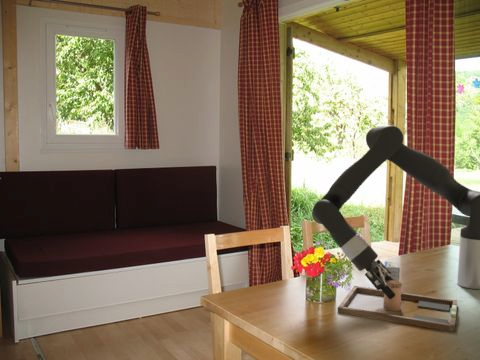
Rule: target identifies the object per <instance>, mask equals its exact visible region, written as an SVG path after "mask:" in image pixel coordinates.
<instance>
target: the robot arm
mask: <svg viewBox="0 0 480 360" xmlns="http://www.w3.org/2000/svg"><path fill="white" fill-rule="evenodd" d="M365 141H366V145H367V147H368V150H367V152H366V153H365V154H363V156H361V158H359V159H358V160H356V162H354V163H353V164H352V165H350V166H349V167H347V168H346V169H345V170H344V171H343V172H342V173H341V174H340V176H338V177H337V179H336V180H335V181H334V183H332V184H331V186H330V188H329V190H328V191H327V192H326V193H325V194H324V196H323V197H322V198H320V200H318V201H316V202H315V203H314V205H313V208H312V210H311V217H312V218H313V220H314V221H315V222H316V223H317V224H318V225H322V226H323V227H324V228H325V229H326V230H327V231H328V233H329V234H330V237H331V239H332V240H333V242H334V243H336V245H337V246H338V247H339V248H340V249H341V250H342V251H341V252H342V253H343V254H344V255H345V256H346V257H347V258H348V260H349V261H350V262H351V263H352V264H353V266H354V267H355V268H356V269H357V270H358V271H360V272H362V271H363V270H365V271H366V272H365V273H364V276H365V277H366V278H367V279H368V281H369V282H370V283H371V284H372V285H373V286H374V289H377V290H379V289H380V290H382V291H383V292H384V293H385V295H386V296H387V297H388V298H389V299H392V298H393V297H395V293H394V292H393V291H392V290H391V288H390V287H389V286H388V285H387V284H386V282H385V281H386V280H393V278H391V277H392V276H391V272H390V271H389V270H388V269H387V268H386V267H385V264H383V262H382V261H381V260H380V259H377V258H378V257H379V256H378V253H377V252H376V251H375V250H374V249H373V247H372V246H370V244H369V243H368V242H367V241H366V240H365V239H364V238H363V237H362V236H361V235H360V234H359V233H358V232H357V231H356V230H355V229H354V227H352V226H351V224H349V223H348V221H347V220H346V219H345V218H344V215H343V214H342V212H341V211H340V210H341V208H343V206H344V205H345V203H347V202H348V201H349V200H350V199H351V198H352V196H353V195H354V194H356V192H357V191H358V189H359V188H360V187H361V186H362V185H363V184H364V183H365V181H366V180H367V179H368V178H369V177H370V176H371V175H373V173H374V172H375V171H376V170H377V169H378V168H379V167H380V166H381V165H383V164H384V162H386V161H389V162H391V163H393V164H394V165H396V166H397V167H398V168H400V169H401V170H402V171H403V172H405V173H406V174H407V175H409V176H410V177H411V178H413V179H414V180H415V181H417V182H418V183H419V184H421V185H422V186H424V187H425V188H427V189H429V190H430V191H432V192H433V193H435V194H436V195H438V196H440V197H442V198H443V199H444V200H446V201H447V202H449V203H450V204H451V205H452V206H453V207H454V208H455V209H457V211H459V213H461V214H462V215H464V216H466V217H469V220H468V225H467V226H463V227H461V229H460V234H459V251H458V266H457V267H458V269H457V285H458V286H460V287H462V288H467V289H472V290H480V191H478V190H472V189H470V188H468V187H466V186H464V184H461V183H460V182H458V181H457V180H456V179H455V178H454V175H452V173H451V171H450V170H449V169H448V168H447V167H446V166H445V165H444V164H443V163H441V162H440V161H439V160H437V159H435V157H432V156H431V155H429V154H426V153H424V152H421V151H420V150H416V149H414V148H411V147H409V146H407V145H405V144H404V135H403V132H402V130H401V129H400V128H399V127H398V126H396V125H388V124H387V125H379V126H375V127H374V126H373V127H372V128H370V129H369V130H368V132H367V133H366V137H365Z"/></svg>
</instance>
